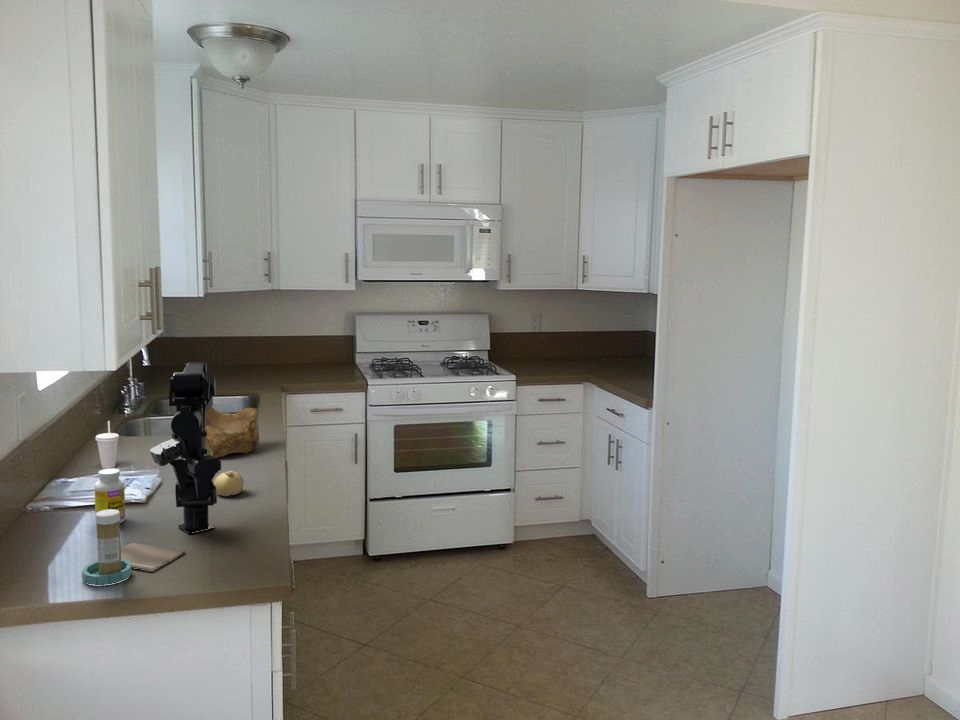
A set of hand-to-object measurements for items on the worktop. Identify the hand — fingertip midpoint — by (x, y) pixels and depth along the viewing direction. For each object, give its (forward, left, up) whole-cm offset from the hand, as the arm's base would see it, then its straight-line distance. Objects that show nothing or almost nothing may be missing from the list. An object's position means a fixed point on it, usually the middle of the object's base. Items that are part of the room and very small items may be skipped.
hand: (191, 494), depth 186 cm
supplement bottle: (-26, -9, -12) cm, 30 cm away
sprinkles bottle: (+6, -21, -12) cm, 24 cm away
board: (+1, -12, -12) cm, 17 cm away
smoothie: (-73, +7, -12) cm, 74 cm away
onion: (-28, +23, -12) cm, 38 cm away
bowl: (+6, -21, -12) cm, 25 cm away
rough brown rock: (-66, +40, -12) cm, 78 cm away
